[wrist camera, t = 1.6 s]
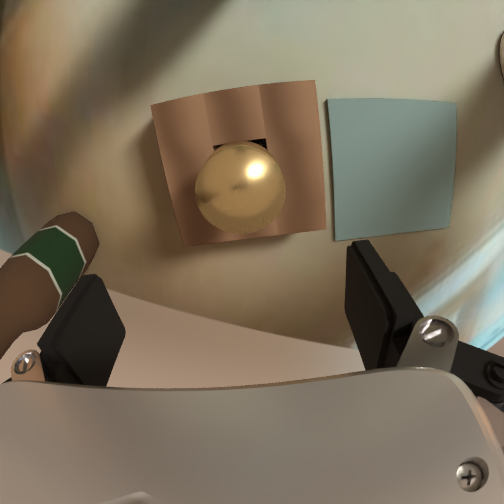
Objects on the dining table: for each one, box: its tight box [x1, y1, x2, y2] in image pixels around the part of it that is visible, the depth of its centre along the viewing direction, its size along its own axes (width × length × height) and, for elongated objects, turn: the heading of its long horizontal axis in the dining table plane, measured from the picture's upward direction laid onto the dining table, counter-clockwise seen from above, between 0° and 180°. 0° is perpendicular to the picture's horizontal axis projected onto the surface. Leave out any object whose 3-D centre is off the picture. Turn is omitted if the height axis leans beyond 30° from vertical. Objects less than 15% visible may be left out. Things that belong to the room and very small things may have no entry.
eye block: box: [150, 80, 326, 247], centre depth 28 cm, size 14×14×5 cm
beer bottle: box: [0, 212, 99, 359], centre depth 25 cm, size 8×8×24 cm
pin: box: [195, 141, 286, 234], centre depth 25 cm, size 6×6×12 cm
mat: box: [327, 98, 457, 241], centre depth 31 cm, size 16×16×1 cm
